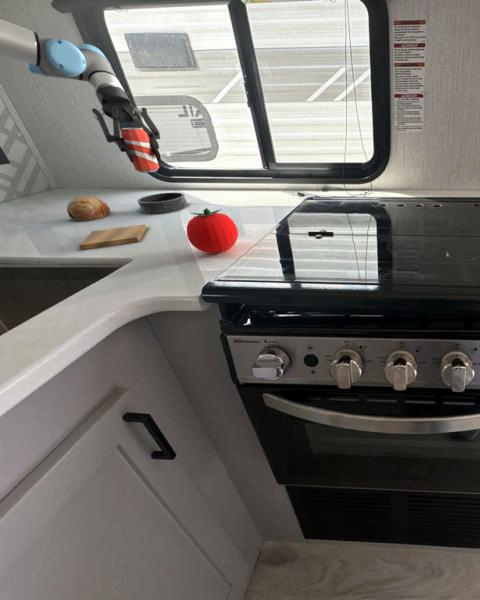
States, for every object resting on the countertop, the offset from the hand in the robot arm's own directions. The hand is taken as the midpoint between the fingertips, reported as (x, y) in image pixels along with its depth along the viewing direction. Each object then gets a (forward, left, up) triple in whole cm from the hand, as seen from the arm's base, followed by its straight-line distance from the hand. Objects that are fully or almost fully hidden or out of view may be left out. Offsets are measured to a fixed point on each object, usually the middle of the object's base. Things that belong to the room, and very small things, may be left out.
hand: (145, 157), depth 99 cm
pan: (-1, +4, -16) cm, 17 cm away
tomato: (+16, -45, -16) cm, 50 cm away
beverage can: (-1, +3, -4) cm, 6 cm away
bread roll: (-21, +4, -16) cm, 27 cm away
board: (-9, -23, -16) cm, 29 cm away
